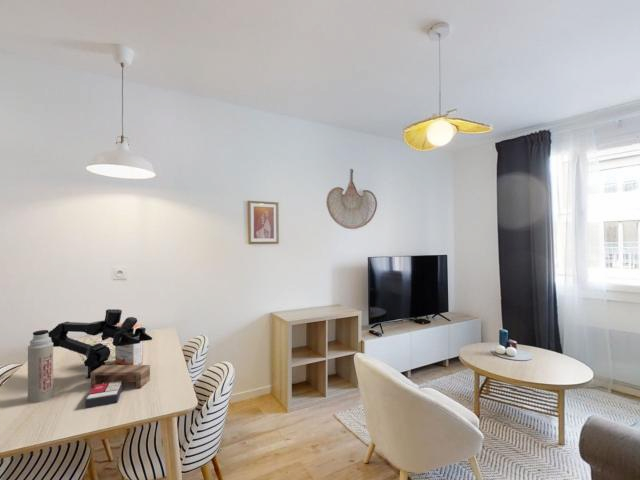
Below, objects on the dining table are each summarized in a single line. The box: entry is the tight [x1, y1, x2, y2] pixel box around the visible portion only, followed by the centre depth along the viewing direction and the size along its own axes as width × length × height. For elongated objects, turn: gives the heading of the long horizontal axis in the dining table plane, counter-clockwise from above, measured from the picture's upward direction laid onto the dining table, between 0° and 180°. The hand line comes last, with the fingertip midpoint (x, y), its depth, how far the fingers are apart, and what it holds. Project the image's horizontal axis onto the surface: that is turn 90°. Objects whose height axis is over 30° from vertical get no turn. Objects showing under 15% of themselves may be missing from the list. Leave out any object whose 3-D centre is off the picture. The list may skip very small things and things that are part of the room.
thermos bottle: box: [27, 329, 54, 404], centre depth 131 cm, size 8×8×28 cm
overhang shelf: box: [90, 364, 151, 390], centre depth 144 cm, size 22×8×7 cm, turn 92°
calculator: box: [84, 381, 124, 409], centre depth 133 cm, size 11×4×15 cm
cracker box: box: [114, 322, 144, 365], centre depth 168 cm, size 14×6×21 cm, turn 68°
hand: (146, 340), depth 150 cm, fingers open, 9 cm apart
